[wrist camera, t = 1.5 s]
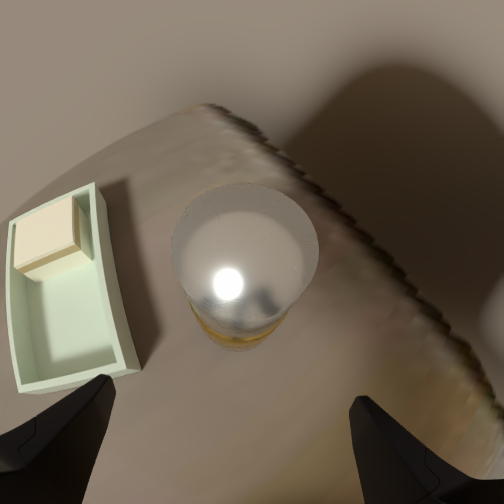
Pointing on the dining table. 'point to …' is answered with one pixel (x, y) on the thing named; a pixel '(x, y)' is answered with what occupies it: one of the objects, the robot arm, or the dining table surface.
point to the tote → (69, 313)
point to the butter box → (52, 241)
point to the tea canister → (243, 261)
